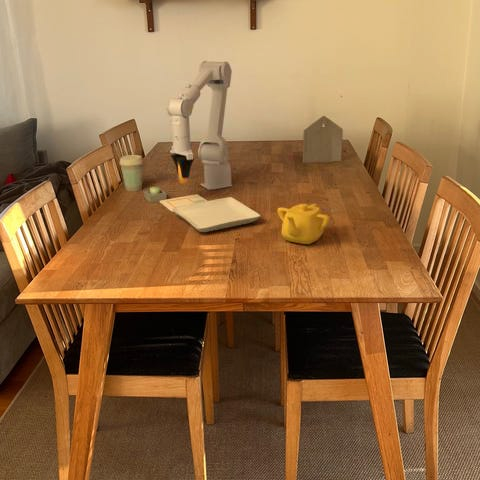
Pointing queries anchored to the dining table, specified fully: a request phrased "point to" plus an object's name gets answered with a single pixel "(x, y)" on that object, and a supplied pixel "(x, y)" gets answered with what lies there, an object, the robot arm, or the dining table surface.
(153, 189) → the button
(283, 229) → the teapot
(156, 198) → the button housing
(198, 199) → the sheet
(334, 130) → the grey pentagonal block
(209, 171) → the robot arm
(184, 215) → the salad plate
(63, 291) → the dining table surface
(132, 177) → the coffee cup
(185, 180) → the marker
